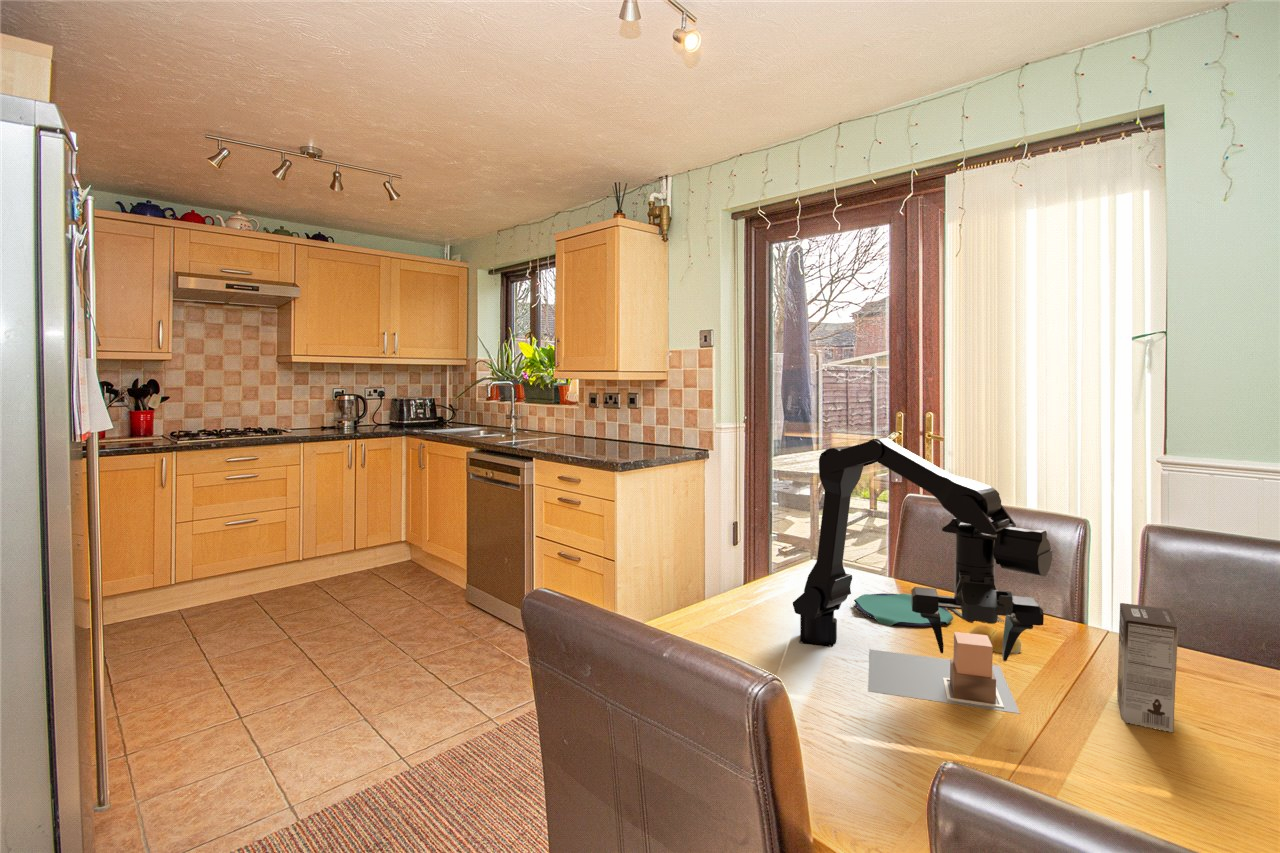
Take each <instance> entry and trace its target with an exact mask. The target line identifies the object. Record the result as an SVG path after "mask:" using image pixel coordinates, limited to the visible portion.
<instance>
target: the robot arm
mask: <svg viewBox="0 0 1280 853" xmlns="http://www.w3.org/2000/svg"><path fill="white" fill-rule="evenodd" d="M875 463H878V464H880V465H882V466H883V467H885V468H887V469H888V470H891V471H892V472H894V473H896V474H897V475H899V476H901V477H902V478H904V479H905V480H907V481H909V482H911V483H912V484H914V485H916V486H918V487H919V488H920V489H922V490H925V491H926V492H928V493H930V494H931V495H932V496H933V497H934V498H936V499H937V501H938V502H939V503H940V505H941V506H942V508H943V509H945V510H946V511H947V512H948V513H949V514H951V516H953V518H952V519H951V520H950V521H949V523H947V524H946V525H944V526H943V527H941V528H942V529H941V531H942V532H944V533H949V534H955V545H954V546H955V552H954V554H955V558H954V591H953V592H954V593H953V594H954V595H953V596H951V595H950V596H948V595H941V594H938V590H937V588H932V587H923V586H922V587H920V586H914V587H913V588H912V589H911V590H910V595H911V606H912V611H913V612H916V613H920V616H921V617H923V618H927V619H928V620H929V622H930V624H931V626H930V627H931V628H932V631H933V633H934V635H935V636H934V637H935V640H936V642H937V646H938V649H939V652H940V654H944V640H943V638H944V637H943V629H942V624H941V618H940V614H939V607H942V608H946V609H948V608H952V609H956V610H961V613H962V617H963V618H962V617H961V618H962V619H963V620H964V621H966V622H969V623H972V622H973V623H974V622H979V623H981V622H982V623H987V625H989V624H990V625H995V624H996V623H998V621H997V619H998V617H999V616H1003V617H1005V618H1004V629H1003V630H1004V636H1003V646H1002V653H1001V655H1002V660H1003V662H1007V661H1008V659H1009V656H1010V654H1011V653H1010V652H1011V650H1012V648H1013V646H1014V644H1015V642H1016V640H1017V638H1019V637H1020V635H1021V634H1022V633H1023V632H1025V631H1026V630H1033V629H1034V626H1037V627H1038V626H1039V627H1040V626H1044V616H1045V615H1044V609H1043V608H1042V607H1041V605H1040V603H1039V602H1038V601H1037V600H1036V599H1035V598H1034V597H1031V596H1029V597H1028V596H1019V595H1013V593H1012V591H1009V590H998V589H997V588H996V584H995V568H996V566H995V564H996V565H999V566H1000V567H1001V569H1004V570H1008V571H1014V572H1016V573H1017V572H1018V573H1023V574H1027V575H1033V576H1038V577H1046V576H1047V575H1048V573H1049V572H1050V569H1051V566H1052V561H1053V550H1052V549H1051V548H1052V547H1051V543H1050V541H1049V540H1048V537H1047V536H1048V533H1047V531H1046V530H1045V529H1044V530H1042V529H1027V528H1020V527H1017V525H1016V523H1015V521H1014V520H1013V518H1012V517H1011V516H1010V514H1009V513H1008V512H1007V510H1006V509H1005V507H1004V505H1003V504H1002V499H1001V497H1000V493H999V491H998V490H997V489H995V488H994V487H993V486H990V485H988V484H986V483H982V482H980V481H977V480H973V479H971V478H967V477H962V476H958V475H955V474H952V473H950V472H948V471H946V470H944V469H942V468H940V467H938V466H937V465H935V464H933V463H932V462H930V461H928V460H926V459H924V458H923V457H920V456H919V455H917V454H915V453H913V452H911V451H910V450H908V449H906V448H904V447H903V446H901V445H899V444H897V443H895V442H894V441H893V440H892V439H891V438H889V437H880V438H871V439H870V440H868V441H866V442H865V441H864V442H863V443H859V444H855V445H853V446H852V445H847V446H846V445H845V446H838V447H837V446H836V447H830V448H829V447H828V448H826V449H825V450H824V451H822V452H821V453H820V455H819V458H818V474H819V476H818V477H819V480H820V482H821V485H822V487H823V490H824V495H823V496H824V497H823V504H822V512H821V522H820V528H819V529H820V531H819V539H818V540H819V541H818V548H817V556H816V560H815V564H814V565H813V567H812V569H811V570H810V571H809V573H808V576H807V579H806V582H805V586H804V588H803V589H804V590H803V593H802V594H800V596H798V597H797V598H796V599H794V601H792V607H793V609H794V614H797V615H799V616H800V617H799V618H800V621H799V622H800V623H799V624H800V625H799V626H800V627H799V629H800V631H799V632H800V635H799V636H800V638H799V640H798V643H799V644H802V645H803V644H804V645H809V646H810V645H811V646H812V645H813V646H818V647H819V646H820V647H826V648H833V647H834V644H836V643H837V639H838V638H837V637H838V619H837V618H835V611H839V610H840V608H841V606H842V603H844V602H845V601H846V600H847V598H848V596H850V595H851V594H852V590H851V585H852V581H853V575H852V574H849V573H846V571H845V569H844V568H845V567H844V565H843V564H844V563H843V561H844V555H845V547H846V546H845V545H846V537H847V530H848V520H849V515H850V514H849V513H850V512H849V511H850V505H851V498H852V494H853V491H854V490H855V488H856V487H857V485H858V483H859V482H860V479H861V476H862V475H863V474H862V473H863V469H864V467H867V466H870V465H873V464H875Z"/></svg>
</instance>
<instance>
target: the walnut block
mask: <svg viewBox="0 0 1280 853" xmlns="http://www.w3.org/2000/svg"><path fill="white" fill-rule="evenodd" d="M949 659H950V658H949ZM953 659H954V658H953ZM953 659H950V684H951V689H952V693H953V697H954V698H956V699H963V700H970V701H977V702H984V703H991V704H996V678H995V675H994V673H993V670H992V677H984V676H976V675H968V674H960V673H957V671H956V667H955V664H954V661H953Z"/></svg>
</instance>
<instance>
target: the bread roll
mask: <svg viewBox="0 0 1280 853" xmlns="http://www.w3.org/2000/svg"><path fill="white" fill-rule="evenodd" d="M968 633H970V634H980V635H987V636H988V638H989V640H990V642H991V644H992V646H993V653H994V652H995V653H999V654H1002V646H1003V636H1004V629H1001V630H1000V629H999V630H997V628H995V627H993V626H992V625H989V624H978V625H975V626H974V627H973V628H972V629H971V630H970V631H969V632H968ZM1021 651H1022V642H1021V640H1020V638H1019V637H1018V638H1017V640H1016V642H1015V644H1014V646H1013V648H1012V650H1011V652H1010V654H1019V653H1020V652H1021Z"/></svg>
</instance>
